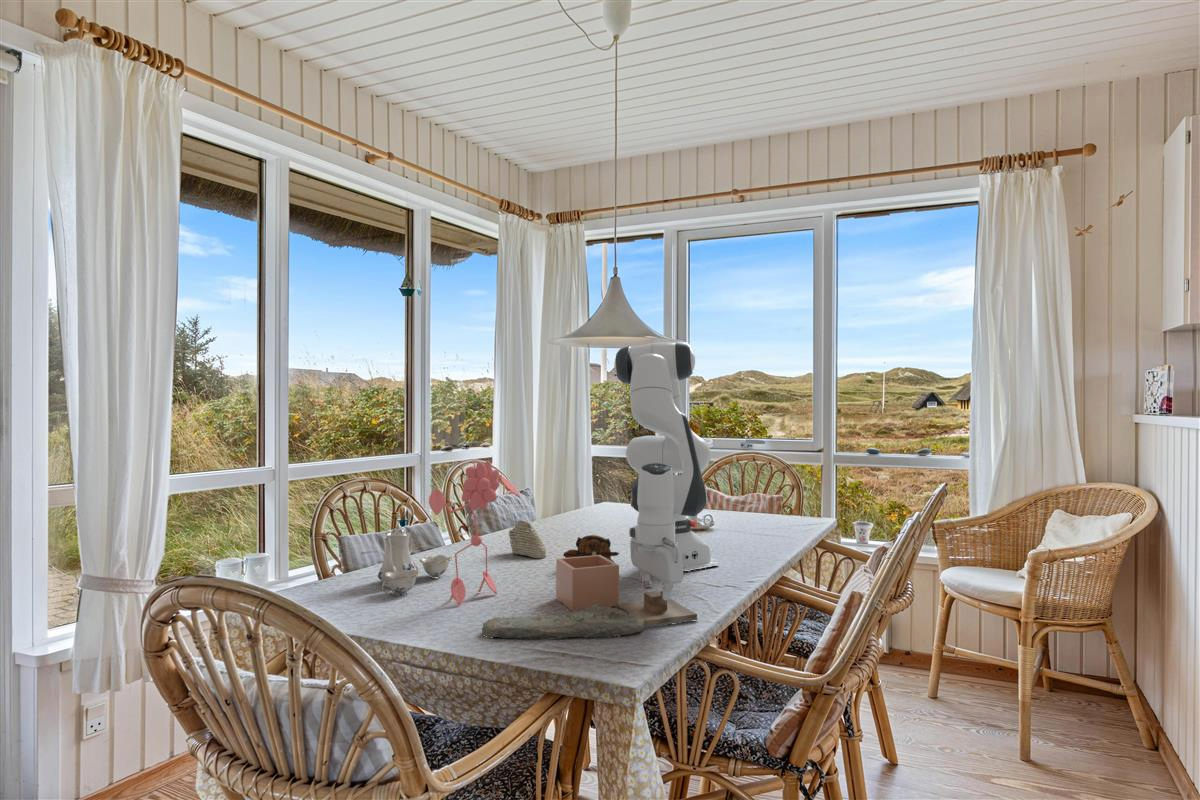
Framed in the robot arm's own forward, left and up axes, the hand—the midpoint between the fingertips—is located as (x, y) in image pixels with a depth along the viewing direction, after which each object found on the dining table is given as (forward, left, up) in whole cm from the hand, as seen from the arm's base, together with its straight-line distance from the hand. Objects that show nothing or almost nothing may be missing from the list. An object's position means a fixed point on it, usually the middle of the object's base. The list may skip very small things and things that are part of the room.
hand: (655, 593), depth 165 cm
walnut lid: (0, 0, -4) cm, 5 cm away
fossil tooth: (+10, -71, -5) cm, 72 cm away
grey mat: (0, 0, -5) cm, 5 cm away
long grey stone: (+24, +3, -6) cm, 25 cm away
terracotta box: (+11, -16, -5) cm, 20 cm away
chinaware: (+50, -50, -6) cm, 71 cm away
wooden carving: (-2, -46, -5) cm, 46 cm away
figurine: (+35, -26, -5) cm, 44 cm away
